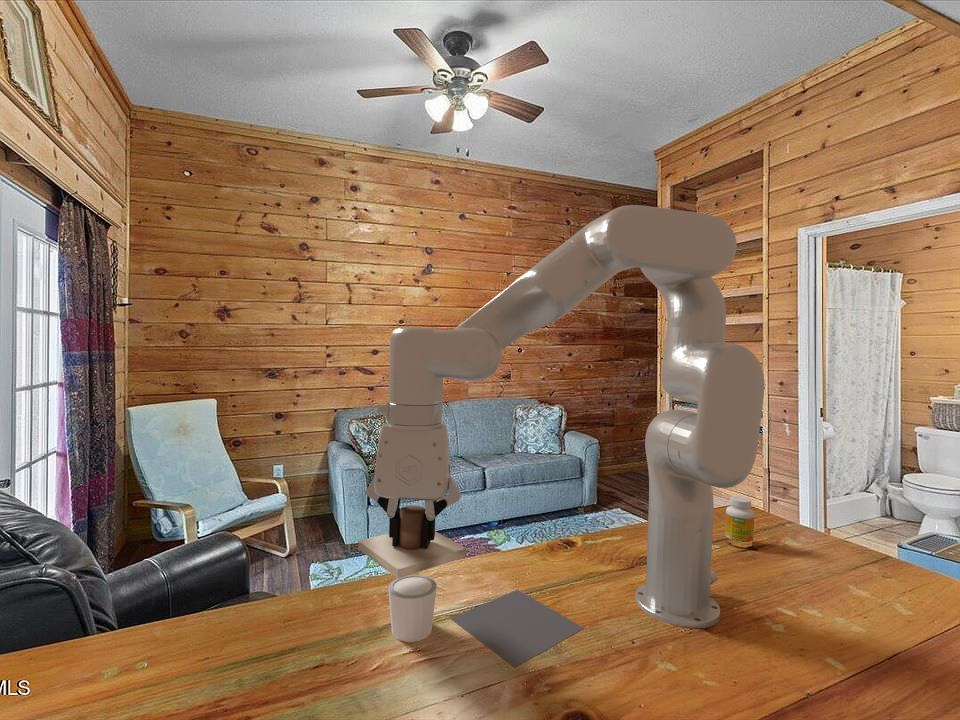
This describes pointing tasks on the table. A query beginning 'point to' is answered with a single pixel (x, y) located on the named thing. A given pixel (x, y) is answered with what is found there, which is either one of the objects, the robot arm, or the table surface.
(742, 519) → the supplement bottle
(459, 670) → the table surface
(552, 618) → the mat
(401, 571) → the lid
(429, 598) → the white cup
